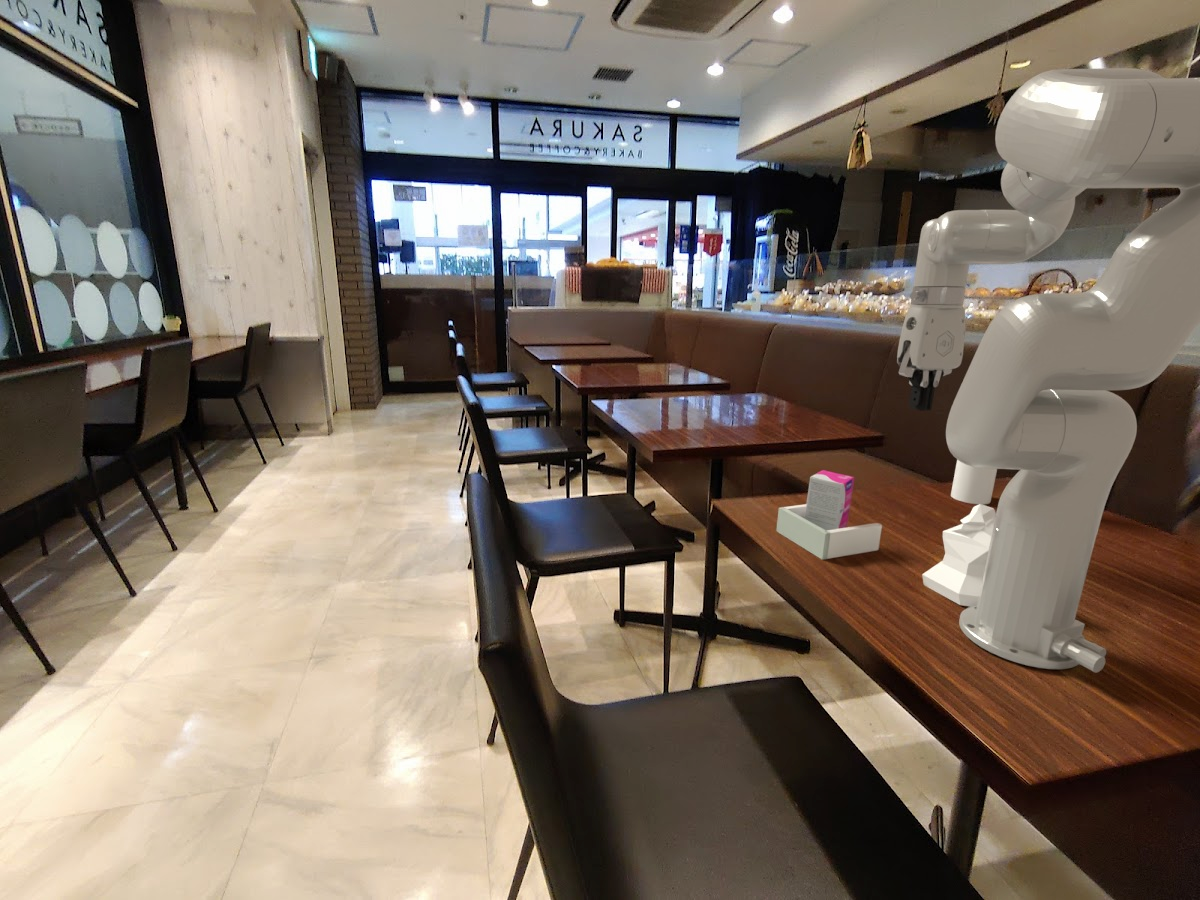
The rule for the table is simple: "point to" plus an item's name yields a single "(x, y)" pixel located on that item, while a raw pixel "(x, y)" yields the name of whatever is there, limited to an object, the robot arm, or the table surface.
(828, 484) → the supplement box
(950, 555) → the soft serve ice cream
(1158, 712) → the table surface
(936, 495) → the table surface
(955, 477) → the cylindrical container
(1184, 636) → the table surface
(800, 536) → the box
